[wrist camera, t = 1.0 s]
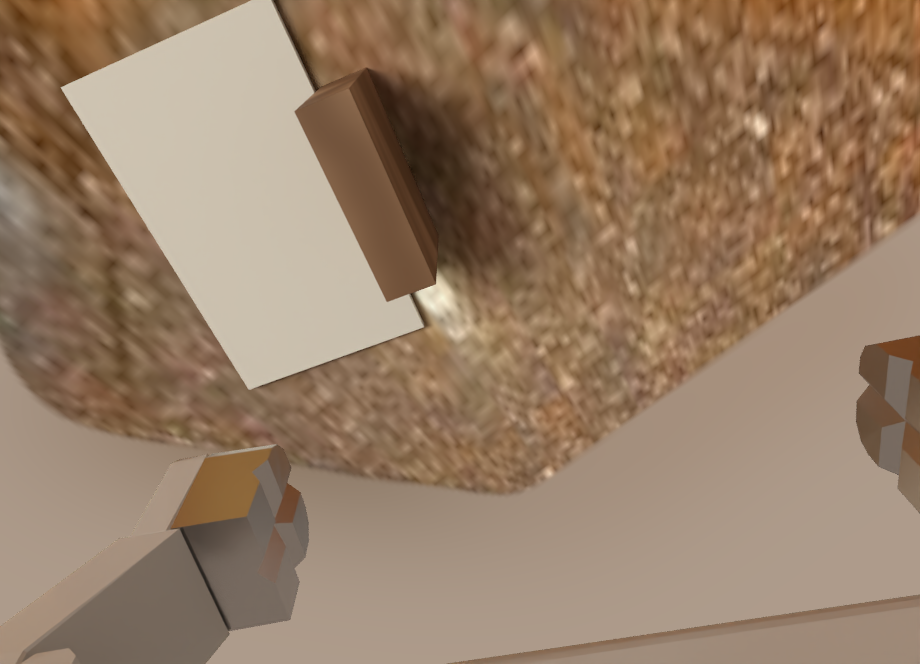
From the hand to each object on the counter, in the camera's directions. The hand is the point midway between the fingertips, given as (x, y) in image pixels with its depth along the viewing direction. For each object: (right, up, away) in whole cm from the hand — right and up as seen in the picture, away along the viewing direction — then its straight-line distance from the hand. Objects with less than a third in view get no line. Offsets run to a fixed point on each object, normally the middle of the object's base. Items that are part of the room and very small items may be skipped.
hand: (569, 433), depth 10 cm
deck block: (-5, +10, +26) cm, 28 cm away
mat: (-12, +7, +27) cm, 30 cm away
